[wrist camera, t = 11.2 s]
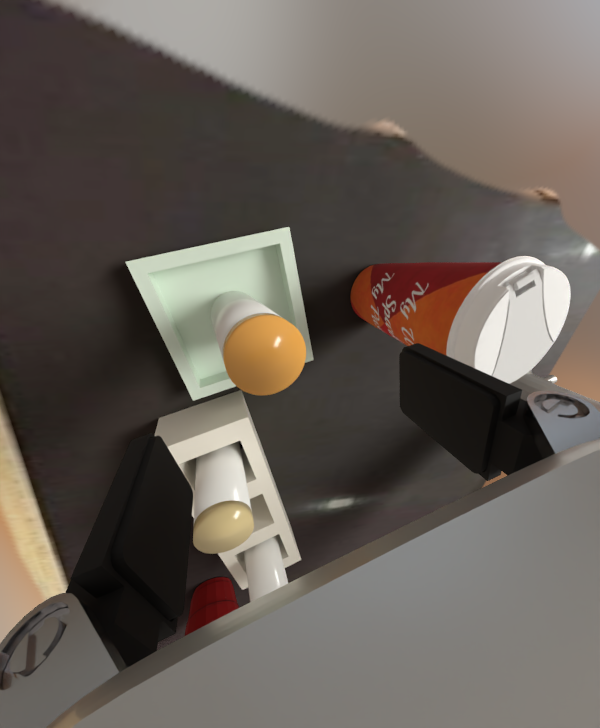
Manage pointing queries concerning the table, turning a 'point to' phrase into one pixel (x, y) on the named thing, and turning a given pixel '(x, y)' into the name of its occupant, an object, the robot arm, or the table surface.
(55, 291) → the table surface
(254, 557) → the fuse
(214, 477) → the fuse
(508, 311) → the coffee cup
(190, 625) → the plastic cup
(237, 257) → the tray
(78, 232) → the table surface
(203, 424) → the holder
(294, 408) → the table surface
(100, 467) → the table surface
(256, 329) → the white and orange cylinder
